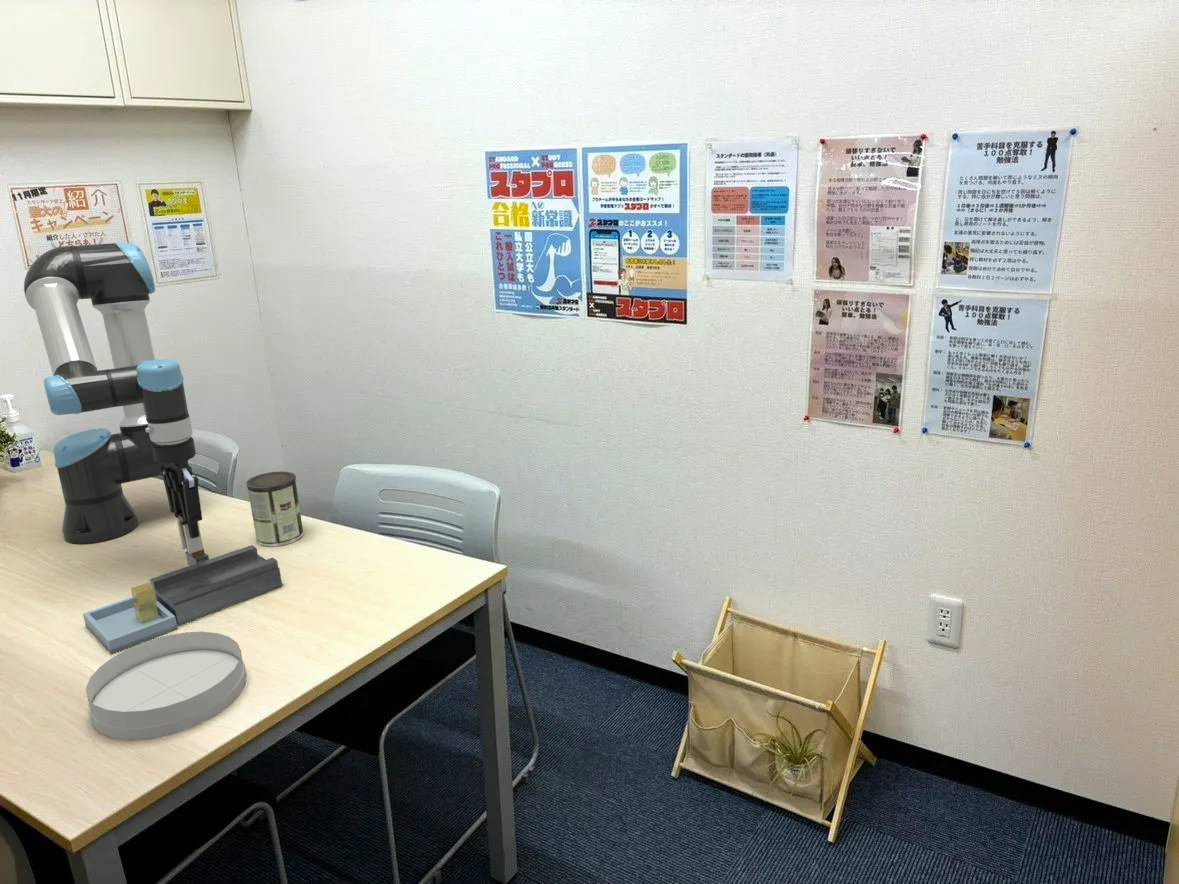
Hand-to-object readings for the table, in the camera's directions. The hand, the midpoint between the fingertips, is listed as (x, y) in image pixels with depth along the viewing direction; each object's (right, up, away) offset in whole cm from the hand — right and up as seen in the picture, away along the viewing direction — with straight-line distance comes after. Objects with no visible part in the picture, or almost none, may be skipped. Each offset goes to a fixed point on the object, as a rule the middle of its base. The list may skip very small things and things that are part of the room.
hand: (192, 548), depth 167 cm
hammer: (+1, -4, +2) cm, 4 cm away
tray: (-2, -12, -18) cm, 22 cm away
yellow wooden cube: (+1, -9, -16) cm, 19 cm away
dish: (+15, -18, -38) cm, 45 cm away
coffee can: (+11, 0, +18) cm, 21 cm away
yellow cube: (0, -8, -18) cm, 19 cm away
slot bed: (+9, -8, -8) cm, 14 cm away
